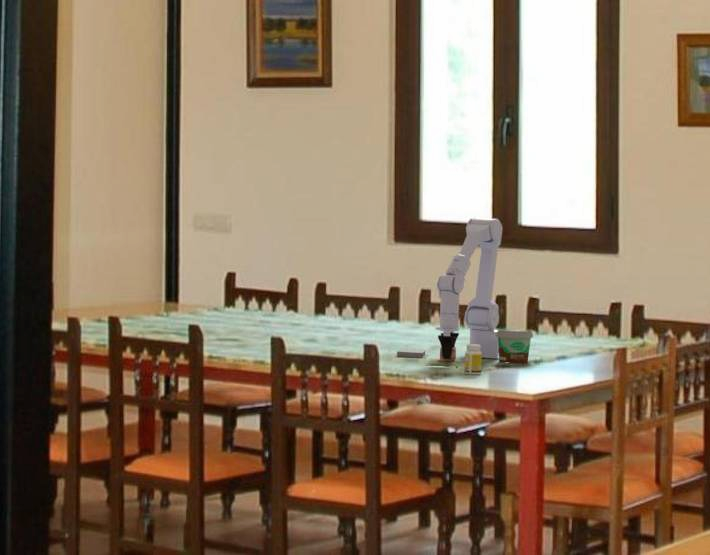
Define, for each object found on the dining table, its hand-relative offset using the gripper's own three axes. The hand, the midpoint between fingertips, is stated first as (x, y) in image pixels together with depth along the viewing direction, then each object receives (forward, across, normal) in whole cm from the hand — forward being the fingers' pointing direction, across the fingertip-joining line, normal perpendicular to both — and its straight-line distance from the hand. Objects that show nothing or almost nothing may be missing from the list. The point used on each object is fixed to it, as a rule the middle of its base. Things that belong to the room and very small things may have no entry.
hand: (447, 357), depth 426 cm
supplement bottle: (+2, +24, +9) cm, 26 cm away
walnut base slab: (+2, -6, -12) cm, 14 cm away
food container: (+2, -7, +21) cm, 22 cm away
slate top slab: (+1, -6, -12) cm, 13 cm away
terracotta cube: (+2, 0, 0) cm, 2 cm away
